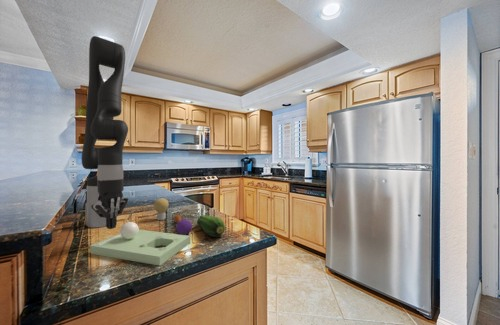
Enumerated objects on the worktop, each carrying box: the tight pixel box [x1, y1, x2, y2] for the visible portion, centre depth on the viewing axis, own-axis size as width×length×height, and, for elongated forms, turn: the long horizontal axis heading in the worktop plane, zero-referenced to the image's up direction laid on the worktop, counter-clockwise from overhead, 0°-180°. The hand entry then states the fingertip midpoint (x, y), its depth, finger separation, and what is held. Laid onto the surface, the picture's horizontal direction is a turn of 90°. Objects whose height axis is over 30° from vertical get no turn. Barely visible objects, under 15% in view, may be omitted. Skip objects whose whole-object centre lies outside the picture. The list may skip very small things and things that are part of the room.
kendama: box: [173, 214, 193, 236], centre depth 90 cm, size 6×6×20 cm
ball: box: [119, 221, 140, 239], centre depth 72 cm, size 6×6×6 cm
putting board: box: [89, 229, 191, 266], centre depth 71 cm, size 25×16×3 cm, turn 75°
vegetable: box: [196, 214, 226, 238], centre depth 88 cm, size 7×7×20 cm
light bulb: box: [153, 197, 169, 221], centre depth 102 cm, size 6×6×10 cm
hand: (111, 228), depth 74 cm, fingers closed
